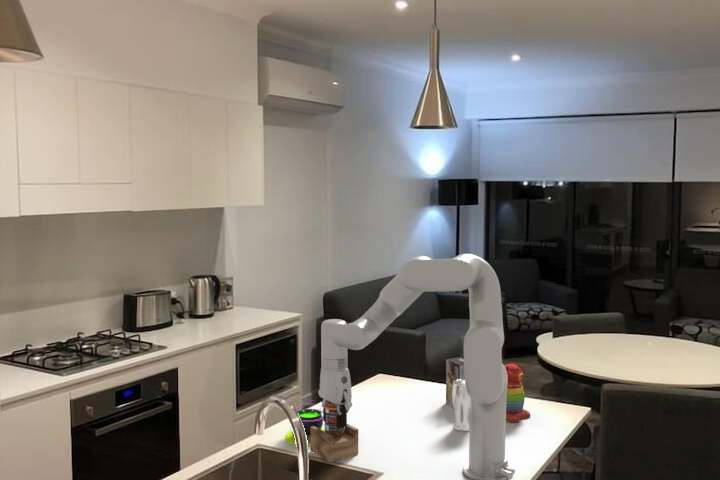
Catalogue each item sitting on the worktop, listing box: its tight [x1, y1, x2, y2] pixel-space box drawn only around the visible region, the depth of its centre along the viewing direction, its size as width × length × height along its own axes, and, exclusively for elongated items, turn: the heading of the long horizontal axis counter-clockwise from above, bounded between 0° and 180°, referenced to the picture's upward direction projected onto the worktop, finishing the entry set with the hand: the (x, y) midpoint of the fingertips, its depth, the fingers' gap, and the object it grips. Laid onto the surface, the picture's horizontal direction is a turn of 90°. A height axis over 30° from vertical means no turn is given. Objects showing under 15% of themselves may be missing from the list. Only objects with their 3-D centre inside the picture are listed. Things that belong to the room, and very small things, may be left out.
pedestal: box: [309, 423, 359, 463], centre depth 192 cm, size 10×10×7 cm
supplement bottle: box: [324, 401, 345, 435], centre depth 192 cm, size 6×6×11 cm
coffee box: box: [445, 356, 465, 407], centre depth 233 cm, size 9×6×16 cm
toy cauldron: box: [284, 400, 325, 447], centre depth 204 cm, size 15×15×11 cm
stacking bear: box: [504, 362, 531, 424], centre depth 223 cm, size 11×10×18 cm
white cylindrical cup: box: [452, 379, 470, 433], centre depth 212 cm, size 7×7×15 cm
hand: (334, 423), depth 192 cm, fingers closed on supplement bottle, 6 cm apart
